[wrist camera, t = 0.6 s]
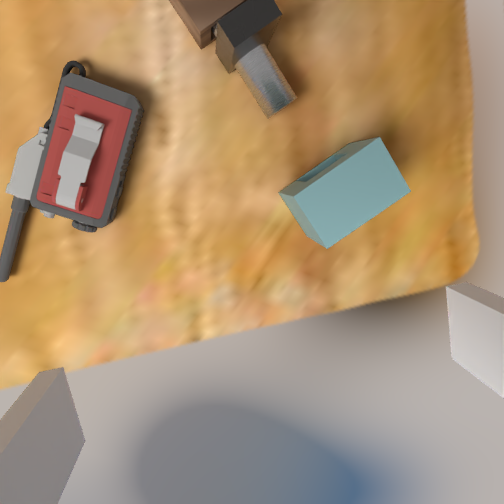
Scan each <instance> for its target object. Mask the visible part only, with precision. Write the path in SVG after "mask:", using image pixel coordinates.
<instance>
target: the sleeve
mask: <svg viewBox="0 0 504 504" xmlns="http://www.w3.org/2000/svg"><path fill="white" fill-rule="evenodd" d="M169 1H170V2H171V4H172V5H173V7H174V8H175V10H176V11H177V13H178V15H179V16H180V18H181V19H182V21H183V22H184V24H185V25H186V27H187V28H188V30H189V32H190V33H191V35H192V36H193V38H194V39H195V41H196V42H197V44H198V45H199V47H200V49H203V48H204V47H205V46H207V45H208V44H210V43H211V42H213V41H214V40H215V39H216V36H215V35H214V33H213V32H212V30H211V27H212V26H214V25H215V24H217V21H219V20H220V19H222V18H223V17H224V16H226V15H227V14H229V13H230V12H231V11H233V10H234V9H236V8H237V7H238V6H240V5H241V4H243V3H244V2H246V1H247V0H169Z"/></svg>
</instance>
